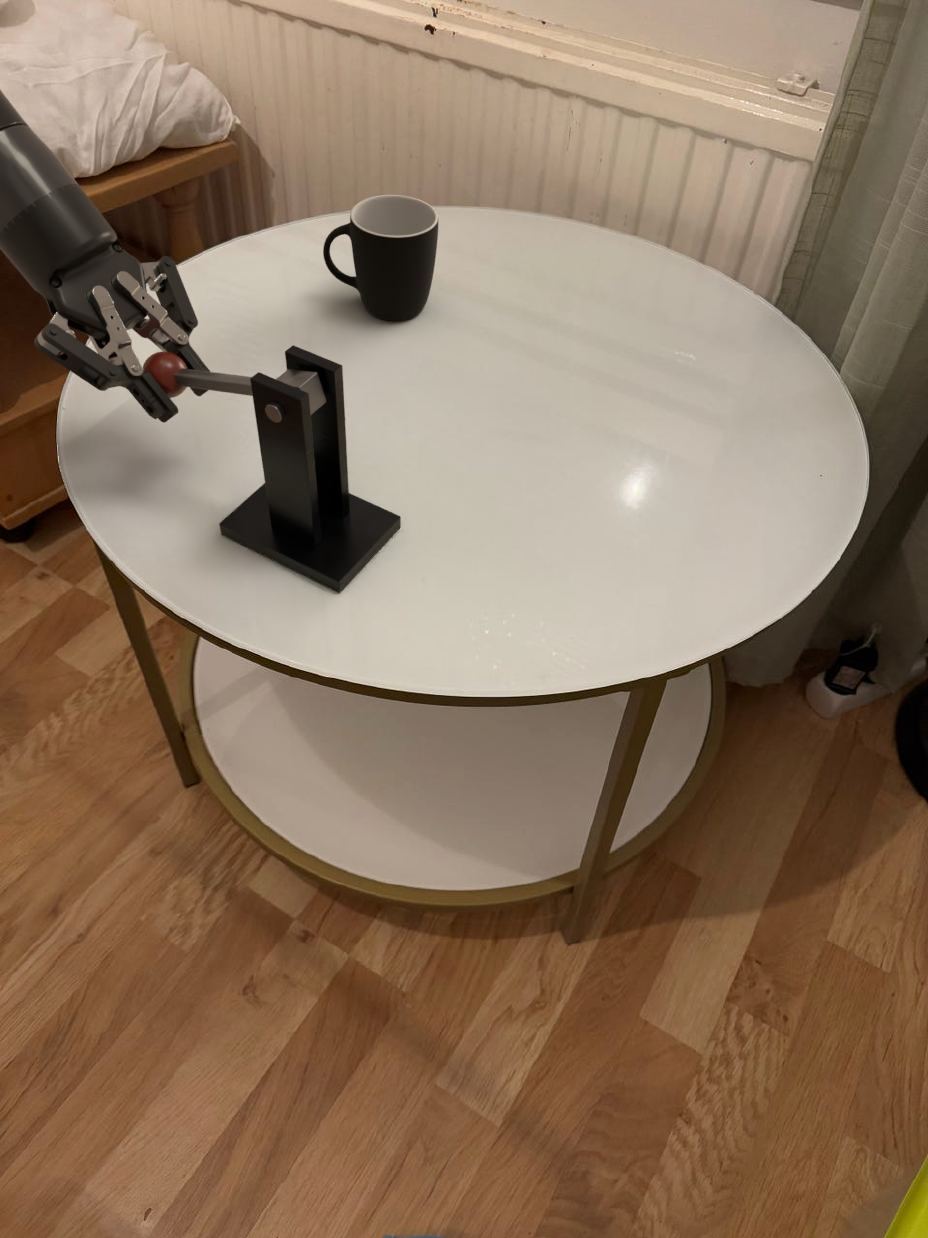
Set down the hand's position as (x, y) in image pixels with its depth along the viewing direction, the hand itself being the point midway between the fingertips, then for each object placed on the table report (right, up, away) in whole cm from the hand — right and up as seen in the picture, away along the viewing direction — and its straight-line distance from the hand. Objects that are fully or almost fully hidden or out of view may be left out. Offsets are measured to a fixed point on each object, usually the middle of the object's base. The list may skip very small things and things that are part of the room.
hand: (188, 403), depth 73 cm
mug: (+13, +17, +26) cm, 34 cm away
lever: (+4, -1, -3) cm, 6 cm away
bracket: (+9, -10, +3) cm, 14 cm away
